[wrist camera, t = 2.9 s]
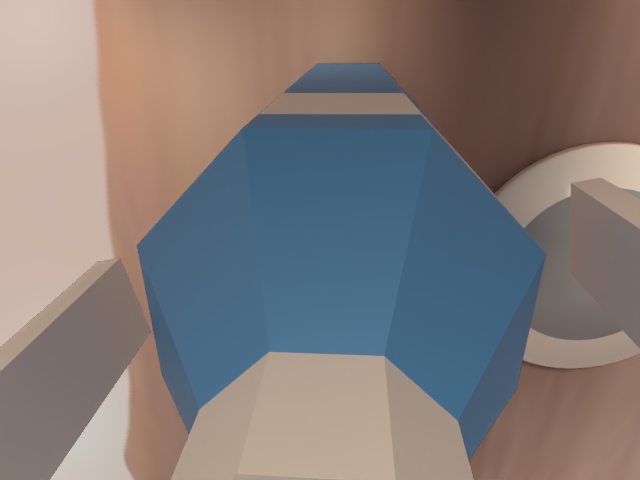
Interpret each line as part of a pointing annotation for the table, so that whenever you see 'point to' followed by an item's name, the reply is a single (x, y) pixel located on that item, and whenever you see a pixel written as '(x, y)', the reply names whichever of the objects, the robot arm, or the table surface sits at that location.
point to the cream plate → (554, 239)
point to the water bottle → (339, 293)
